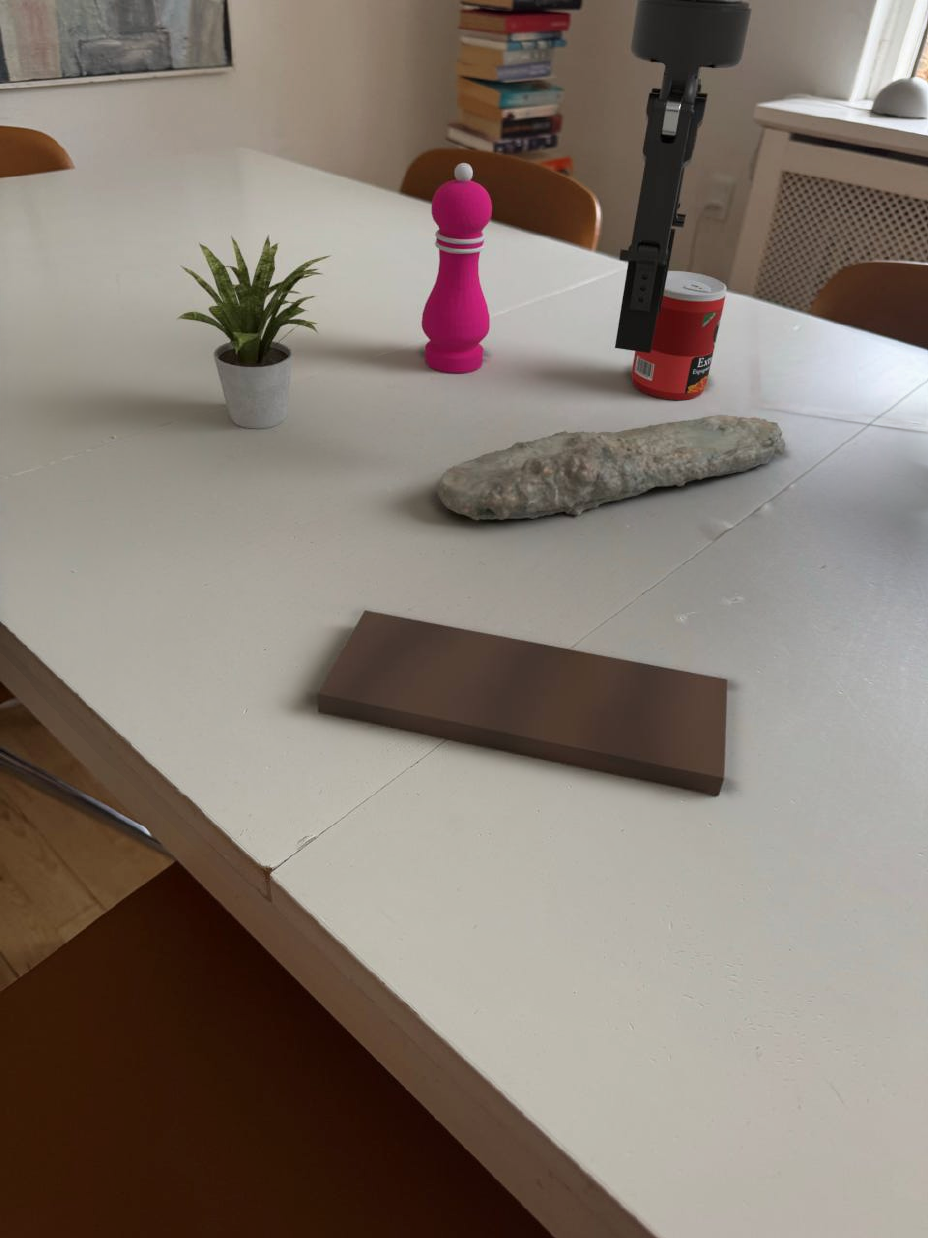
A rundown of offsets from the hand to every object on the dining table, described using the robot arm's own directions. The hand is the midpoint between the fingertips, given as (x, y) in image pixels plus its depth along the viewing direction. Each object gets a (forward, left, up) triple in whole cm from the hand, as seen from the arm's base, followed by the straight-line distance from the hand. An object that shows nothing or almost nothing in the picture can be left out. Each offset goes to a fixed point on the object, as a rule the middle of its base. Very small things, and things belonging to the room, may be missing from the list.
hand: (638, 327), depth 77 cm
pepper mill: (+20, -21, -14) cm, 32 cm away
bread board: (+2, +32, -13) cm, 35 cm away
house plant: (+33, 0, -14) cm, 36 cm away
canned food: (-3, -23, -14) cm, 27 cm away
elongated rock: (-1, 0, -14) cm, 14 cm away
